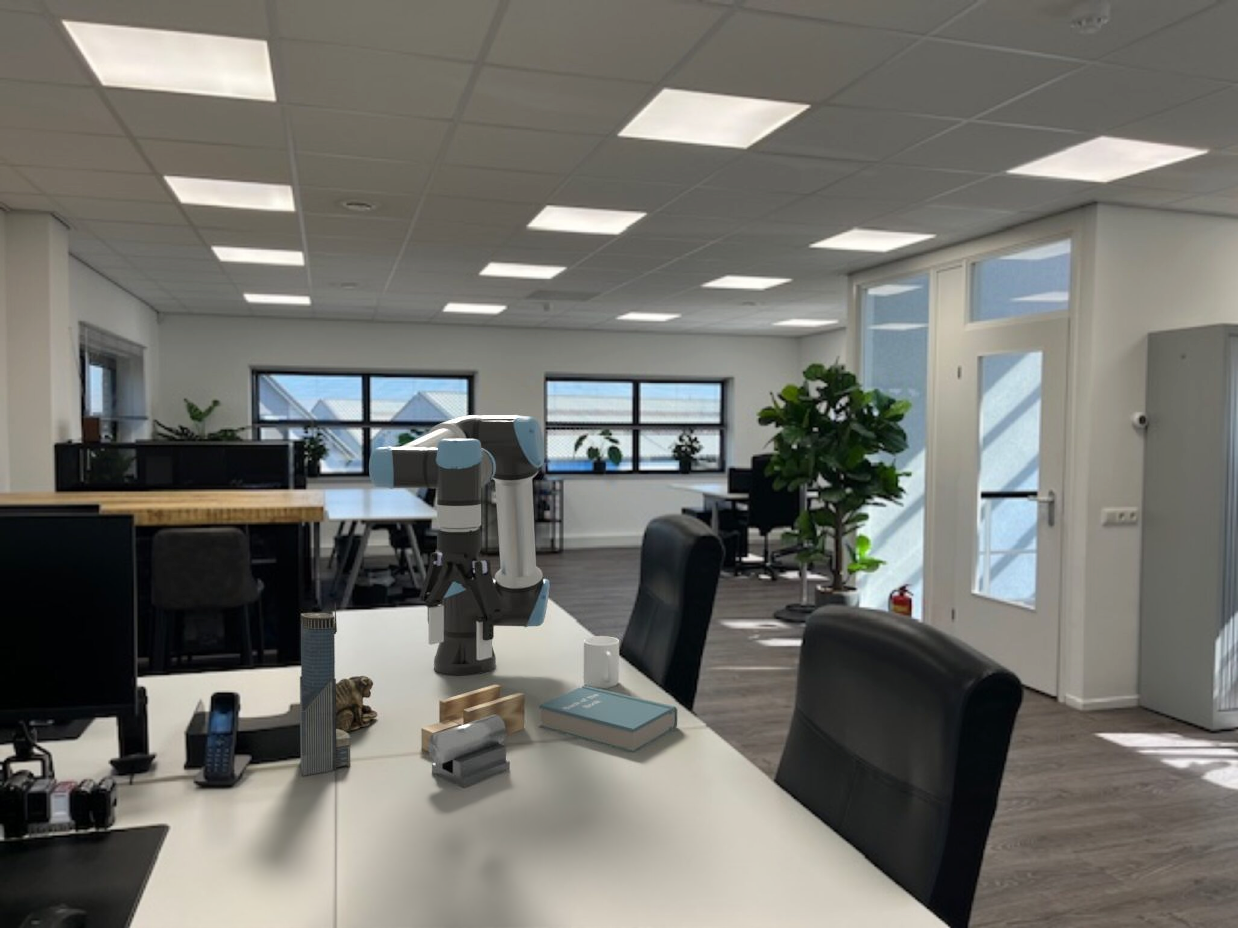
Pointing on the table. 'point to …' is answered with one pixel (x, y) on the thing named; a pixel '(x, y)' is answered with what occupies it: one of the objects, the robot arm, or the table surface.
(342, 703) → the figurine
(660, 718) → the book
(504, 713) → the beam
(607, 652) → the cup
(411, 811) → the table surface
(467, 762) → the v block
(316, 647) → the building
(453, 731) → the axle
